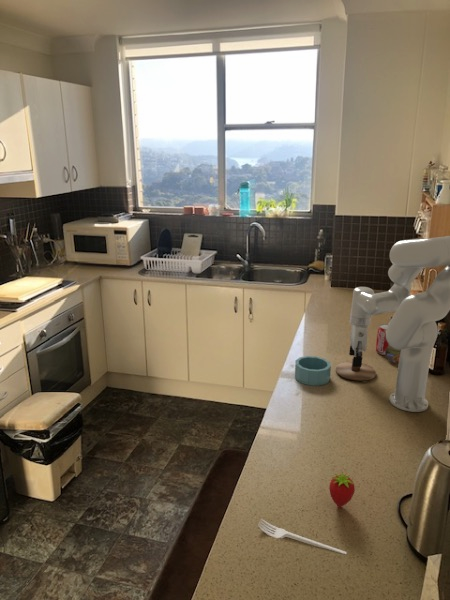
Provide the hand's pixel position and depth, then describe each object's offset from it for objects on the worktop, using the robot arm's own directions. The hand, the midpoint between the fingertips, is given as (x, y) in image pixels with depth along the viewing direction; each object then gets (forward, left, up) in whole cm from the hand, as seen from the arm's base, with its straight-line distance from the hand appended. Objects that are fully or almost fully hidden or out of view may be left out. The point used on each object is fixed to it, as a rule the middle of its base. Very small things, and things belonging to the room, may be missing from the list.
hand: (355, 360), depth 186 cm
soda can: (+21, -15, -5) cm, 27 cm away
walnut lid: (-1, 0, -5) cm, 5 cm away
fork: (-87, +23, -6) cm, 91 cm away
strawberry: (-76, +14, -5) cm, 77 cm away
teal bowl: (-7, +17, -5) cm, 18 cm away
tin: (+11, -21, -5) cm, 25 cm away
